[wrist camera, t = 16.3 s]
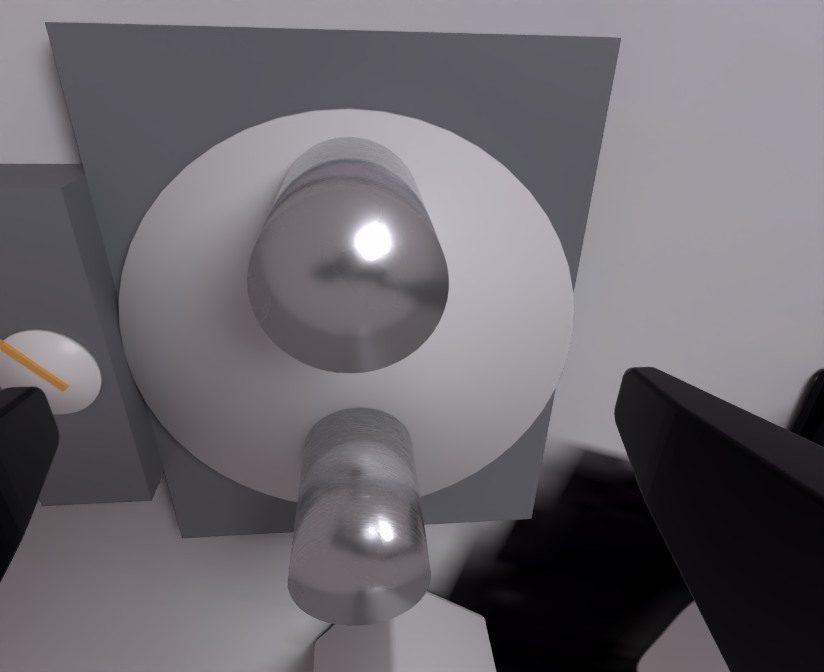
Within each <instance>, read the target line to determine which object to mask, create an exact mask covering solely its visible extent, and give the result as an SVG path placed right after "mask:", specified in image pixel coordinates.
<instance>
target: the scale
mask: <svg viewBox="0 0 824 672" xmlns="http://www.w3.org/2000/svg"><path fill="white" fill-rule="evenodd" d="M45 25H46V28H47V32H48V36H49V40H50V44H51V47H52V51H53V55H54V59H55V62H56V66H57V70H58V74H59V77H60V81H61V85H62V89H63V92H64V96H65V100H66V104H67V107H68V111H69V115H70V119H71V123H72V126H73V130H74V134H75V138H76V141H77V145H78V149H79V153H80V156H81V160H82V164H0V391H1V390H3V389H5V388H9V387H30V386H35V387H38V388H40V389H42V390H43V392H44V393H45V395H46V397H47V400H48V402H49V405H50V408H51V410H52V413H53V416H54V418H55V421H56V424H57V426H58V429H59V435H60V436H59V445H58V448H57V451H56V454H55V456H54V459H53V462H52V464H51V467H50V469H49V472H48V475H47V477H46V480H45V483H44V485H43V488H42V490H41V493H40V496H39V500H40V502H41V505H42V506H51V505H72V504H92V503H112V502H132V501H152V499H153V496H154V494H155V492H156V489H157V487H158V485H159V482H160V480H161V478H162V475H163V473H164V472H165V476H166V480H167V484H168V487H169V491H170V495H171V499H172V502H173V506H174V510H175V514H176V517H177V521H178V525H179V529H180V532H181V536H182V538H193V537H211V536H229V535H247V534H265V533H283V532H294V525H295V517H296V508H297V500H298V491H299V483H300V475H301V466H302V458H303V449H304V443H305V440H306V437H307V435H308V433H309V432H310V430H311V429H312V428H313V426H314V425H315V424H316V423H317V422H319V421H320V420H321V419H323V418H324V417H326V416H328V415H329V414H332V413H334V412H337V411H340V410H343V409H348V408H372V409H376V410H380V411H383V412H386V413H388V414H390V415H392V416H393V417H395V418H396V419H398V420H399V421H400V422H401V423H402V424H403V425H404V426H405V427H406V428H407V430H408V432H409V433H410V436H411V438H412V443H413V449H414V456H415V464H416V471H417V478H418V485H419V492H420V499H421V506H422V514H423V521H424V525H426V524H444V523H462V522H479V521H497V520H515V519H531V517H532V512H533V506H534V501H535V496H536V490H537V485H538V480H539V474H540V469H541V464H542V458H543V453H544V448H545V442H546V437H547V432H548V426H549V421H550V416H551V410H552V405H553V400H554V394H555V389H556V386H557V383H558V381H559V379H560V376H561V374H562V371H563V369H564V367H565V363H566V359H567V356H568V352H569V348H570V344H571V338H572V330H573V322H574V299H573V293H574V287H575V282H576V277H577V271H578V266H579V261H580V255H581V250H582V245H583V239H584V234H585V229H586V223H587V218H588V212H589V207H590V202H591V196H592V191H593V186H594V180H595V175H596V170H597V164H598V159H599V154H600V148H601V143H602V138H603V132H604V127H605V122H606V116H607V111H608V106H609V100H610V95H611V90H612V84H613V79H614V74H615V68H616V63H617V58H618V52H619V47H620V41H621V38H610V37H580V36H543V35H507V34H470V33H433V32H396V31H360V30H323V29H286V28H249V27H213V26H176V25H139V24H102V23H58V22H45ZM338 137H359V138H364V139H368V140H371V141H374V142H377V143H379V144H381V145H383V146H385V147H386V148H388V149H389V150H391V151H392V152H394V153H395V154H396V155H397V156H398V157H399V158H400V159H401V160H402V161H403V162H404V163H405V165H406V166H407V167H408V169H409V170H410V172H411V173H412V175H413V177H414V179H415V182H416V184H417V186H418V189H419V192H420V194H421V197H422V199H423V202H424V204H425V207H426V209H427V212H428V214H429V217H430V220H431V222H432V225H433V227H434V230H435V232H436V235H437V237H438V240H439V243H440V245H441V248H442V250H443V253H444V256H445V259H446V263H447V268H448V274H449V291H448V299H447V303H446V307H445V310H444V313H443V315H442V317H441V320H440V322H439V324H438V325H437V327H436V329H435V330H434V332H433V333H432V334H431V336H430V337H429V338H428V339H427V341H426V342H425V343H424V344H423V345H421V346H420V347H419V348H418V349H417V350H416V351H415V352H413V353H412V354H411V355H409V356H408V357H406V358H404V359H403V360H401V361H399V362H397V363H395V364H393V365H390V366H388V367H385V368H382V369H379V370H375V371H370V372H364V373H336V372H329V371H325V370H321V369H317V368H314V367H311V366H309V365H306V364H304V363H302V362H300V361H298V360H296V359H294V358H293V357H291V356H290V355H288V354H286V353H285V352H284V351H283V350H281V349H280V348H279V347H278V346H277V345H275V344H274V342H273V341H272V340H271V339H270V338H269V337H268V336H267V335H266V333H265V332H264V330H263V329H262V328H261V326H260V325H259V323H258V321H257V319H256V317H255V315H254V312H253V310H252V307H251V304H250V300H249V295H248V287H247V273H248V265H249V261H250V257H251V253H252V251H253V248H254V246H255V243H256V241H257V239H258V237H259V235H260V232H261V230H262V228H263V226H264V223H265V221H266V219H267V217H268V215H269V212H270V210H271V208H272V206H273V204H274V201H275V199H276V197H277V195H278V192H279V190H280V188H281V186H282V184H283V181H284V179H285V177H286V175H287V173H288V171H289V170H290V168H291V166H292V165H293V164H294V162H295V161H296V160H297V159H298V158H299V157H300V156H301V155H302V154H303V153H304V152H305V151H307V150H308V149H310V148H311V147H313V146H314V145H316V144H318V143H320V142H323V141H326V140H329V139H333V138H338Z"/></svg>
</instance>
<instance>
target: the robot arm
mask: <svg viewBox="0 0 824 672" xmlns="http://www.w3.org/2000/svg"><path fill="white" fill-rule="evenodd" d="M614 415H615V422H616V425H617V428H618V431H619V433H620V436H621V439H622V441H623V444H624V447H625V449H626V452H627V455H628V458H629V460H630V463H631V466H632V468H633V471H634V474H635V476H636V479H637V482H638V485H639V487H640V490H641V492H642V495H643V497H644V500H645V502H646V504H647V506H648V509H649V511H650V513H651V515H652V517H653V519H654V521H655V523H656V525H657V527H658V529H659V531H660V533H661V535H662V537H663V539H664V541H665V543H666V545H667V547H668V549H669V551H670V553H671V555H672V557H673V559H674V561H675V563H676V565H677V567H678V569H679V571H680V573H681V575H682V577H683V579H684V581H685V583H686V585H687V587H688V589H689V591H690V593H691V595H692V597H693V599H694V601H695V603H696V604H697V607H698V609H699V611H700V613H701V615H702V617H703V618H704V621H705V623H706V624H707V626H708V628H709V631H710V632H711V635H712V636H713V638H714V640H715V642H716V644H717V646H718V648H719V650H720V652H721V654H722V656H723V658H724V660H725V662H726V664H727V666H728V668H729V670H730V672H824V371H823V372H822V373H821V374H820V375H819V377H818V378H817V380H816V382H815V385H814V387H813V389H812V391H811V393H810V395H809V397H808V400H807V402H806V404H805V406H804V408H803V410H802V412H801V414H800V417H799V419H798V421H797V423H796V425H795V427H794V429H793V432H790V431H788V430H786V429H784V428H782V427H780V426H777V425H775V424H773V423H771V422H769V421H767V420H765V419H763V418H760V417H758V416H756V415H754V414H752V413H750V412H748V411H746V410H743V409H741V408H739V407H737V406H735V405H733V404H731V403H729V402H726V401H724V400H722V399H720V398H718V397H716V396H714V395H712V394H709V393H707V392H705V391H703V390H701V389H699V388H697V387H695V386H692V385H690V384H688V383H686V382H684V381H682V380H680V379H678V378H675V377H673V376H671V375H669V374H667V373H665V372H663V371H661V370H658V369H656V368H654V367H633V368H629V369H628V370H626V371H625V373H624V375H623V378H622V382H621V386H620V390H619V394H618V398H617V402H616V405H615V412H614ZM59 436H60V435H59V429H58V426H57V424H56V421H55V418H54V416H53V413H52V410H51V408H50V405H49V402H48V400H47V397H46V395H45V393H44V392H43V390H42V389H40V388H38V387H35V386H30V387H9V388H5V389H3V390H1V391H0V582H1V580H2V578H3V576H4V574H5V572H6V570H7V569H8V567H9V565H10V563H11V561H12V559H13V557H14V555H15V553H16V551H17V549H18V547H19V545H20V542H21V540H22V538H23V536H24V534H25V531H26V529H27V527H28V524H29V522H30V519H31V517H32V514H33V511H34V509H35V506H36V504H37V501H38V498H39V496H40V493H41V490H42V488H43V485H44V483H45V480H46V477H47V475H48V472H49V469H50V467H51V464H52V462H53V459H54V456H55V454H56V451H57V448H58V445H59Z"/></svg>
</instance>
